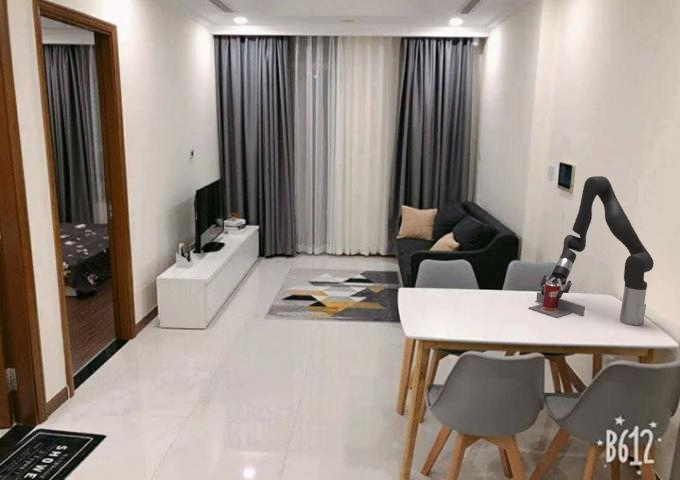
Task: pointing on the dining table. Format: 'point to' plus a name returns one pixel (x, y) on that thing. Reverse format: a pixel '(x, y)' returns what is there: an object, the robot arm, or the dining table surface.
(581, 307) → the low wall
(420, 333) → the dining table surface
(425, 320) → the dining table surface
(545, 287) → the soda can
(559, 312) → the mat
